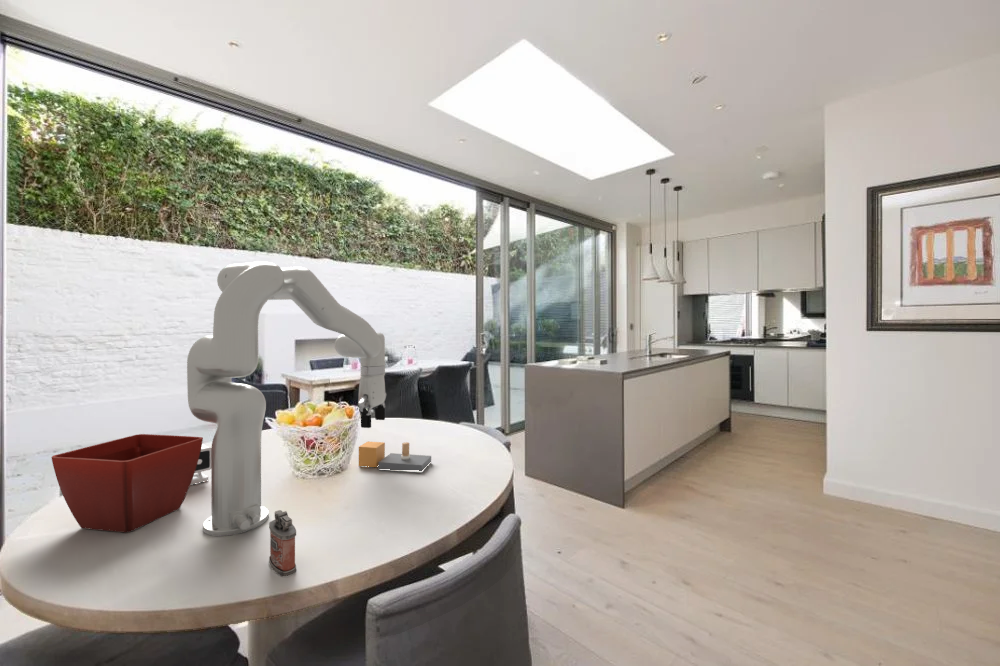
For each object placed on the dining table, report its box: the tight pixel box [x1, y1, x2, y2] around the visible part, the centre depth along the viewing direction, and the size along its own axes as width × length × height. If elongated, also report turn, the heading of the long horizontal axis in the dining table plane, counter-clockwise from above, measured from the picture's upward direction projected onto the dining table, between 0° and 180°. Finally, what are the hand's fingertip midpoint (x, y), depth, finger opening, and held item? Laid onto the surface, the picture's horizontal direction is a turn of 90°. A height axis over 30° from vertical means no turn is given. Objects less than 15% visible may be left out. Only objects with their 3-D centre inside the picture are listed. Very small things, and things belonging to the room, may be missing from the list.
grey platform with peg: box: [378, 441, 432, 471], centre depth 131 cm, size 14×9×8 cm, turn 81°
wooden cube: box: [358, 441, 386, 468], centre depth 133 cm, size 6×6×6 cm
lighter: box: [268, 509, 297, 578], centre depth 77 cm, size 8×3×10 cm, turn 47°
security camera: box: [190, 443, 212, 486], centre depth 116 cm, size 6×7×10 cm
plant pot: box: [51, 433, 204, 533], centre depth 95 cm, size 19×19×17 cm
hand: (373, 423), depth 133 cm, fingers open, 9 cm apart
